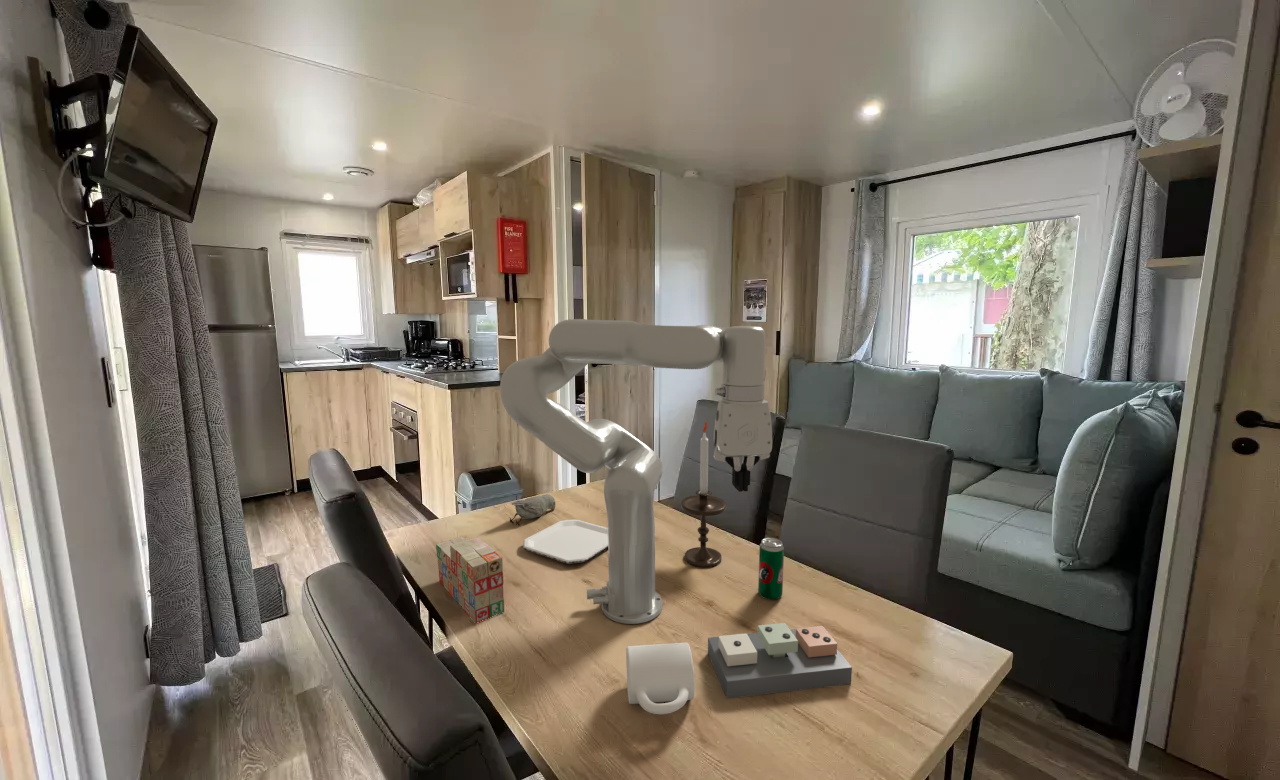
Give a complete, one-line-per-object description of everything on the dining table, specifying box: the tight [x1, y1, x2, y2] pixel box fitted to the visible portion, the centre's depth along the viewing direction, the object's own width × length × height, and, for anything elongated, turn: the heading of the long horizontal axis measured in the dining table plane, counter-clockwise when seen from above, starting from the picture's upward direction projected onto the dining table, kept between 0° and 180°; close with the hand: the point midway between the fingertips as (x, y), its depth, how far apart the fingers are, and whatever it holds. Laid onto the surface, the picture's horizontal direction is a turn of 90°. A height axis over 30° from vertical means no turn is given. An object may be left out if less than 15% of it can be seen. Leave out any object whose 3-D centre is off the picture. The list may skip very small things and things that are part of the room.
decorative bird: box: [509, 493, 556, 528], centre depth 151 cm, size 5×16×7 cm, turn 142°
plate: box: [523, 518, 608, 565], centre depth 134 cm, size 21×21×2 cm
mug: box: [625, 642, 696, 715], centre depth 79 cm, size 12×10×8 cm
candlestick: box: [680, 419, 727, 569], centre depth 123 cm, size 11×11×35 cm
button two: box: [757, 622, 798, 659], centre depth 86 cm, size 5×5×5 cm
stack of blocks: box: [435, 536, 505, 624], centre depth 109 cm, size 21×6×12 cm, turn 40°
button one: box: [718, 632, 757, 666], centre depth 86 cm, size 5×5×5 cm
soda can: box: [757, 537, 785, 601], centre depth 109 cm, size 5×5×12 cm
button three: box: [795, 625, 838, 657], centre depth 88 cm, size 5×5×5 cm
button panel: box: [707, 628, 853, 699], centre depth 87 cm, size 21×11×3 cm, turn 98°
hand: (740, 489), depth 96 cm, fingers closed
